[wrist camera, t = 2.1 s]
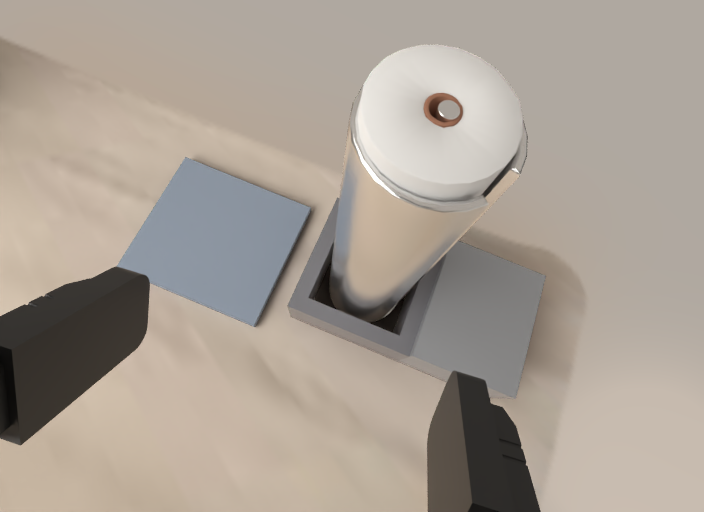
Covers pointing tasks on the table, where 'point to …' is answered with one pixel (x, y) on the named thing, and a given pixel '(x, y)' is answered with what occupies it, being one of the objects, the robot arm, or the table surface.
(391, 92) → the chrome and white cylinder
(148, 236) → the rubber mat
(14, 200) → the table surface
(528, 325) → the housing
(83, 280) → the robot arm
